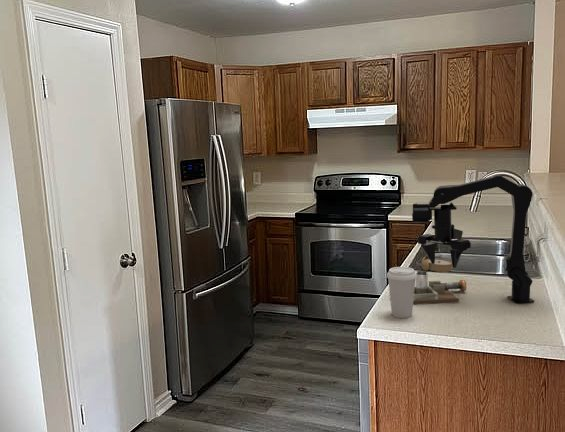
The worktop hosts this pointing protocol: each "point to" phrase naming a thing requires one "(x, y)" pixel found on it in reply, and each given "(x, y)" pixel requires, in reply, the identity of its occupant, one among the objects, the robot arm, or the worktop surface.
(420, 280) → the grey cylinder
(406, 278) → the coffee cup
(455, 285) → the lock pin
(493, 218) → the worktop surface
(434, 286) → the tray
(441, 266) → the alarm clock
